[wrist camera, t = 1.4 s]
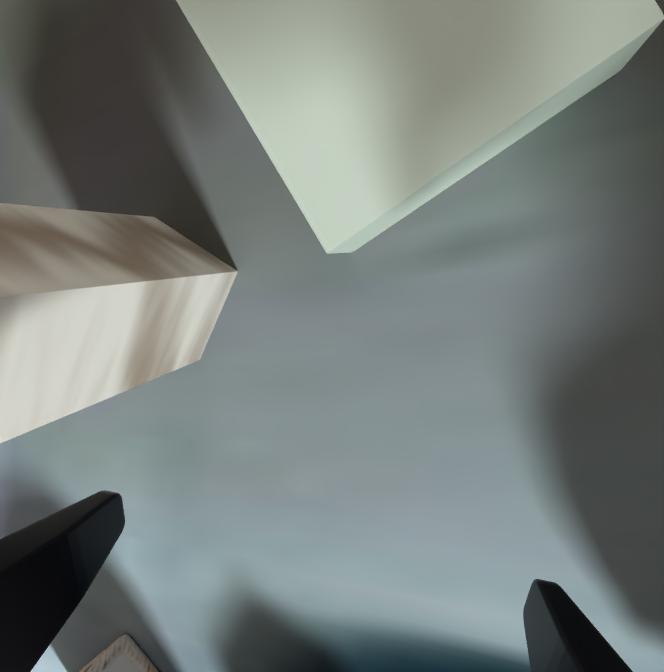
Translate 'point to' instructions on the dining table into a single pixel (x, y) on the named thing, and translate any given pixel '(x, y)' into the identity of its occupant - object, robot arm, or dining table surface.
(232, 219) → the dining table surface
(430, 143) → the sage block
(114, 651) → the decorative jar
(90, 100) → the dining table surface
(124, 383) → the cream block
